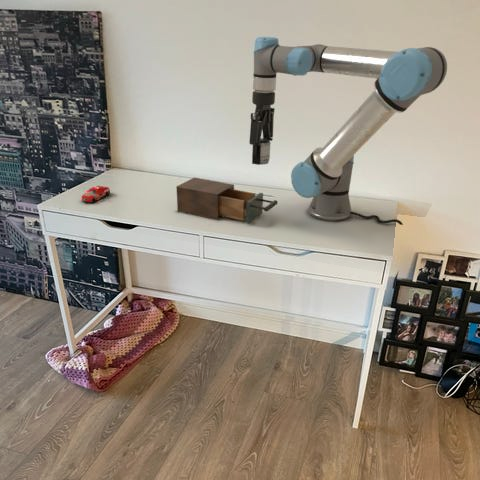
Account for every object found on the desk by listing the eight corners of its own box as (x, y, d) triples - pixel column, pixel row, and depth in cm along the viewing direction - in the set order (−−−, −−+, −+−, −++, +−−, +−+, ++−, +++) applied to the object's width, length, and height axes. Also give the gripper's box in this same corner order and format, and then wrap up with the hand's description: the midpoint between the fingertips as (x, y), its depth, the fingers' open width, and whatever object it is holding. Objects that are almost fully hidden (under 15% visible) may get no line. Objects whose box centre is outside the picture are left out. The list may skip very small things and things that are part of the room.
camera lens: (267, 160, 176) (269, 137, 171) (270, 164, 170) (272, 141, 166) (250, 160, 175) (251, 137, 171) (252, 164, 170) (253, 141, 165)
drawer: (278, 216, 172) (279, 196, 168) (265, 227, 164) (266, 205, 160) (224, 205, 180) (224, 186, 176) (209, 215, 172) (209, 194, 168)
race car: (90, 204, 181) (88, 194, 178) (79, 202, 183) (77, 192, 180) (113, 194, 190) (111, 184, 188) (102, 192, 192) (100, 182, 190)
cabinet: (233, 209, 180) (234, 184, 175) (217, 220, 171) (217, 194, 166) (195, 201, 186) (194, 177, 181) (177, 211, 177) (176, 186, 172)
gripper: (266, 86, 168) (263, 154, 181) (240, 93, 154) (238, 166, 167) (286, 88, 165) (281, 157, 178) (261, 96, 151) (257, 170, 164)
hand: (260, 161), depth 173 cm, fingers closed on camera lens, 6 cm apart
